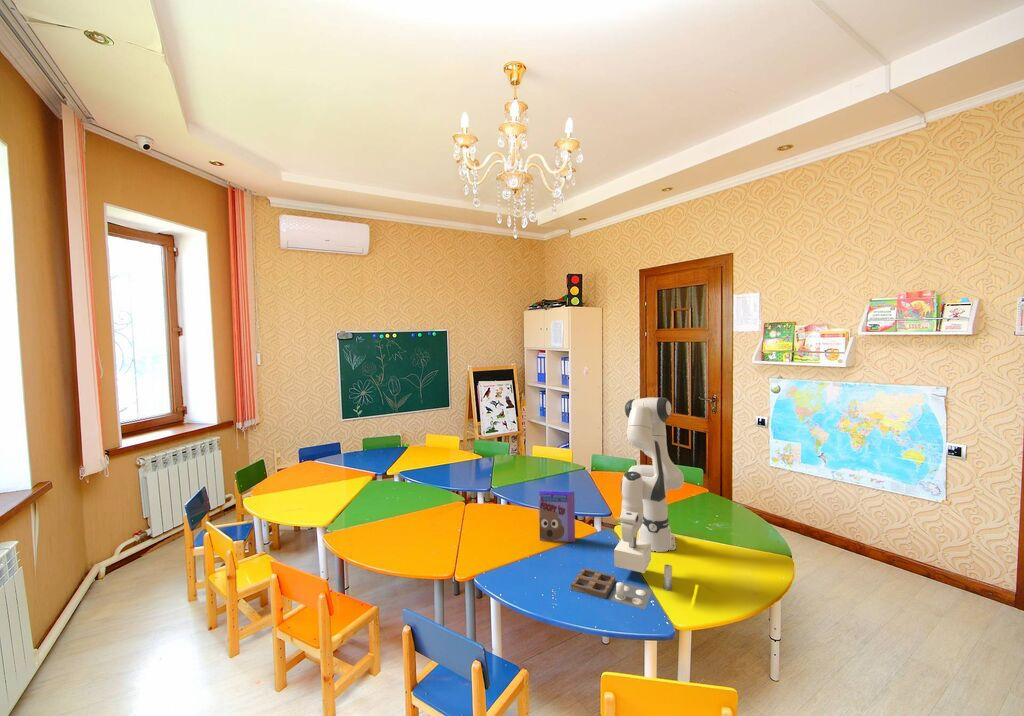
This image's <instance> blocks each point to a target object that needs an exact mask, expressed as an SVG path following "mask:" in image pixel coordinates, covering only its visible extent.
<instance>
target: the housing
mask: <svg viewBox="0 0 1024 716" xmlns="http://www.w3.org/2000/svg"><path fill="white" fill-rule="evenodd" d="M633 542H634V546H633V547H630V546H629V542H625V541H623V539H622V538H621V539H620V540H619V542H618V543H617V545H616V547H615V548H614V550H613V559H614V560H613V561H614V562H613V567H616V568H621V569H625V570H629V571H633V572H638V573H642V574H645V573H646V571H647V569H648V568H649V565H650V563H651V561H652V551H651V544H650V543H645V542H640V541H636V537H634V539H633Z"/></svg>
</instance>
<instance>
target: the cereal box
mask: <svg viewBox="0 0 1024 716" xmlns="http://www.w3.org/2000/svg"><path fill="white" fill-rule="evenodd" d="M538 506H539V507H538V513H539V517H538V518H539V541H542V542H543V541H544V542H545V541H546V542H547V541H548V542H561V543H562V542H563V543H564V542H566V543H576V524H575V523H576V522H575V521H576V520H575V518H576V516H575V515H576V514H575V513H576V512H575V509H576V508H575V491H563V490H561V491H560V490H539V492H538Z"/></svg>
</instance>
